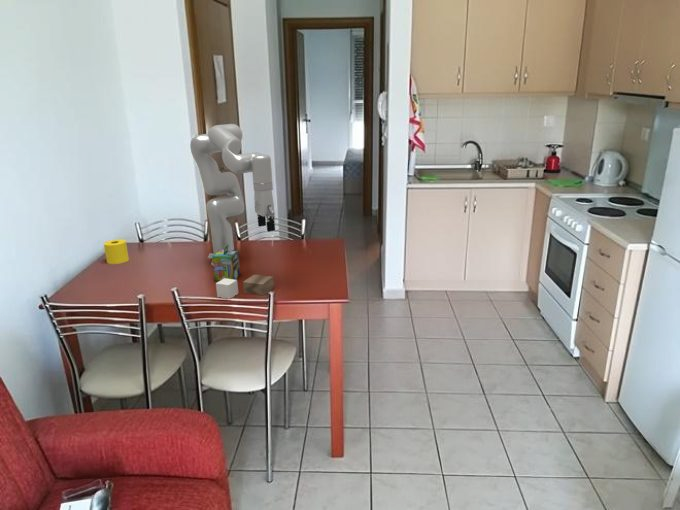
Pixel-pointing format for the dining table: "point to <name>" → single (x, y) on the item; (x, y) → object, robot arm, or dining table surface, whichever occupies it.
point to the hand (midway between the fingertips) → (266, 228)
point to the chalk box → (226, 264)
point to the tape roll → (116, 251)
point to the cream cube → (227, 288)
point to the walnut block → (258, 284)
